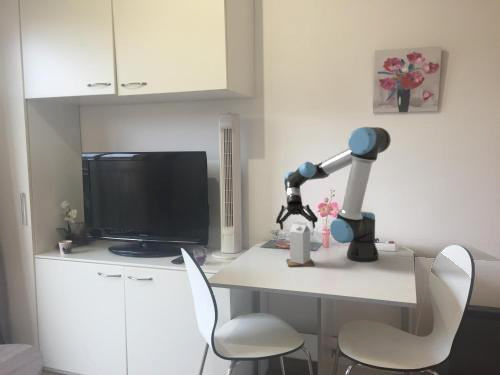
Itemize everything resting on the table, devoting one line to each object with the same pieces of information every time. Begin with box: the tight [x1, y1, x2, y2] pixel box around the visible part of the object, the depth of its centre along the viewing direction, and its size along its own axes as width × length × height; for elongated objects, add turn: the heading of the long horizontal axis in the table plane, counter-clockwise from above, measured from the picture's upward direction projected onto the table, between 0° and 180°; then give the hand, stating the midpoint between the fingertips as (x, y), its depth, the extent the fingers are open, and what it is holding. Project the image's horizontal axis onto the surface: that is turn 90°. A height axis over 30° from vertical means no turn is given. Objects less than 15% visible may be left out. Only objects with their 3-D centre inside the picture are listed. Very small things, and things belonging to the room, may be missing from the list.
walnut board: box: [285, 257, 315, 268], centre depth 200 cm, size 12×10×1 cm
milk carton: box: [289, 221, 311, 264], centre depth 199 cm, size 7×7×19 cm
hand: (298, 234), depth 199 cm, fingers open, 13 cm apart
